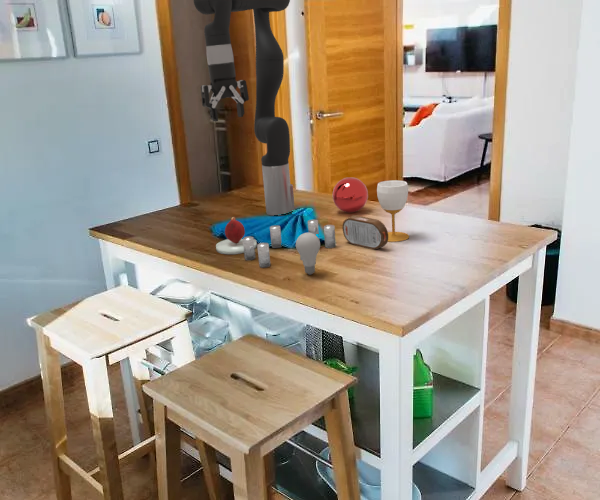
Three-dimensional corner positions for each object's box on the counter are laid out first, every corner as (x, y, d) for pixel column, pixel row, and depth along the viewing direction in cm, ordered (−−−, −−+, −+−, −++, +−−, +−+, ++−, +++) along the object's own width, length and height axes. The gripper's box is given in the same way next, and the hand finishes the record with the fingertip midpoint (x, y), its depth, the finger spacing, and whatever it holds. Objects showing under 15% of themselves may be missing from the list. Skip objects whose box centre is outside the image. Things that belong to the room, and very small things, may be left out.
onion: (242, 246, 174) (238, 220, 171) (223, 246, 175) (219, 220, 173) (248, 240, 179) (245, 214, 177) (230, 240, 181) (226, 214, 178)
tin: (389, 249, 166) (388, 220, 164) (382, 252, 164) (381, 223, 162) (348, 240, 177) (347, 212, 174) (341, 243, 175) (339, 215, 172)
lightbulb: (297, 271, 155) (293, 230, 152) (320, 269, 156) (318, 228, 152) (299, 279, 150) (295, 237, 146) (323, 277, 150) (320, 235, 146)
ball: (374, 208, 207) (373, 174, 203) (359, 218, 198) (357, 182, 194) (343, 206, 213) (341, 173, 209) (327, 215, 204) (325, 180, 200)
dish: (244, 238, 186) (244, 234, 185) (264, 247, 176) (264, 243, 176) (209, 247, 179) (208, 244, 179) (228, 257, 170) (227, 253, 169)
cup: (412, 233, 178) (412, 180, 173) (404, 243, 170) (403, 187, 165) (383, 231, 182) (381, 179, 177) (374, 240, 174) (372, 186, 169)
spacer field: (308, 235, 184) (307, 216, 182) (345, 249, 169) (344, 228, 167) (236, 255, 171) (234, 235, 169) (269, 271, 156) (267, 250, 154)
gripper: (235, 59, 179) (242, 114, 184) (192, 64, 172) (200, 121, 177) (248, 59, 173) (255, 116, 178) (204, 64, 166) (212, 123, 171)
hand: (228, 118), depth 178 cm, fingers open, 8 cm apart
